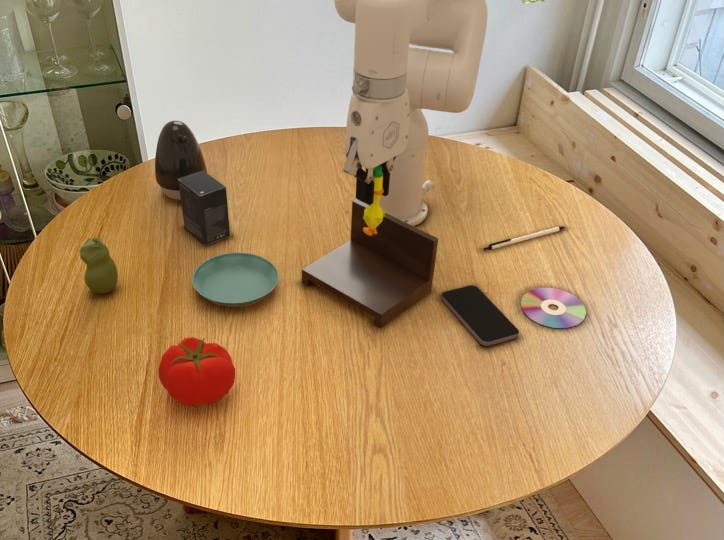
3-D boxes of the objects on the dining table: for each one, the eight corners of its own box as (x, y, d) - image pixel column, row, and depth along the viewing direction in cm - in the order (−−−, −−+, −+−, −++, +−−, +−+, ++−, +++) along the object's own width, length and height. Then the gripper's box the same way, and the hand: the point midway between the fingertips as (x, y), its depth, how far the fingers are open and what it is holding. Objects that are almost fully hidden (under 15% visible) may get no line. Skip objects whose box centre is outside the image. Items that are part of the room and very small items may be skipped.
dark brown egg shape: (169, 212, 147) (158, 139, 137) (151, 187, 154) (139, 116, 143) (217, 199, 151) (210, 128, 140) (198, 176, 157) (189, 106, 147)
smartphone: (475, 283, 133) (522, 333, 122) (474, 289, 133) (521, 338, 123) (438, 292, 130) (483, 343, 120) (438, 298, 131) (482, 349, 121)
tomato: (241, 413, 109) (236, 370, 103) (164, 423, 107) (155, 380, 101) (233, 364, 117) (229, 321, 111) (161, 373, 115) (153, 329, 109)
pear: (109, 302, 127) (97, 253, 120) (81, 296, 128) (68, 246, 121) (126, 283, 130) (115, 234, 123) (98, 277, 131) (86, 228, 124)
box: (231, 236, 142) (226, 186, 134) (205, 246, 139) (199, 196, 132) (209, 218, 146) (203, 168, 139) (183, 228, 143) (176, 177, 136)
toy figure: (349, 224, 125) (352, 158, 117) (367, 218, 126) (371, 152, 118) (372, 244, 121) (377, 177, 113) (390, 238, 123) (396, 171, 114)
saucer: (295, 279, 133) (294, 267, 131) (248, 326, 123) (247, 313, 122) (225, 255, 137) (224, 242, 136) (176, 297, 128) (174, 285, 126)
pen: (482, 249, 142) (483, 244, 141) (563, 227, 148) (564, 222, 147) (485, 252, 141) (485, 247, 140) (566, 230, 148) (567, 225, 147)
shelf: (354, 250, 140) (356, 198, 132) (431, 291, 132) (438, 238, 124) (301, 283, 132) (301, 229, 124) (380, 329, 124) (384, 274, 116)
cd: (555, 280, 135) (555, 280, 135) (600, 315, 128) (600, 315, 128) (507, 299, 130) (507, 299, 130) (551, 336, 124) (551, 336, 124)
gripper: (361, 107, 100) (355, 226, 113) (435, 73, 109) (422, 187, 122) (320, 90, 104) (319, 207, 117) (395, 59, 113) (386, 170, 126)
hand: (372, 196), depth 119 cm, fingers closed on toy figure, 3 cm apart
